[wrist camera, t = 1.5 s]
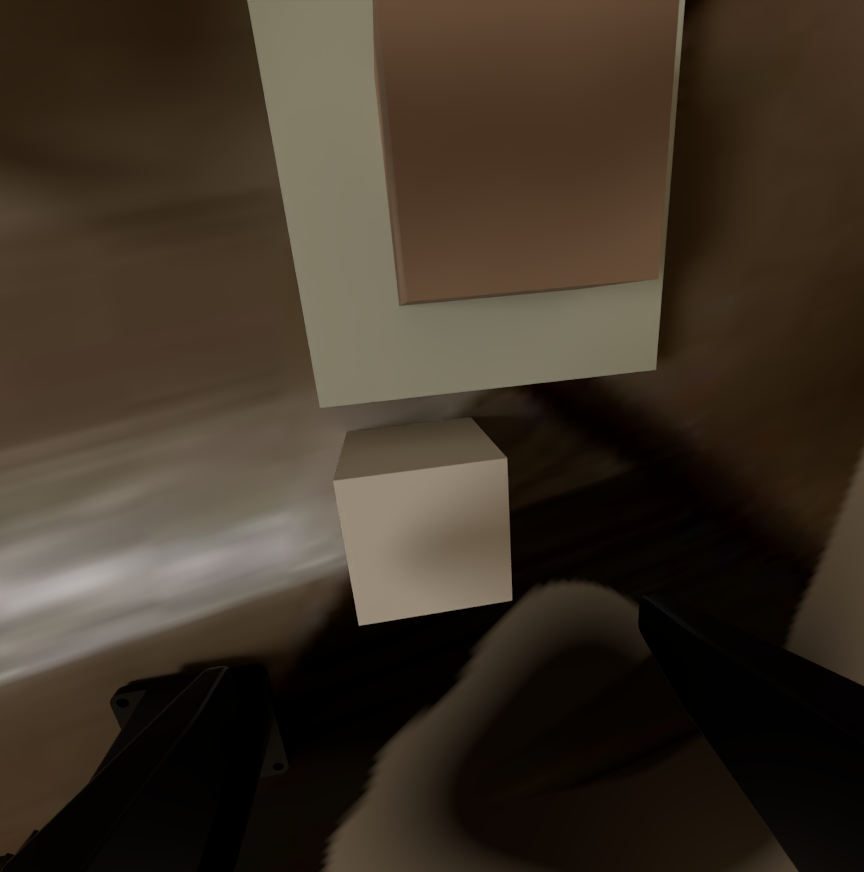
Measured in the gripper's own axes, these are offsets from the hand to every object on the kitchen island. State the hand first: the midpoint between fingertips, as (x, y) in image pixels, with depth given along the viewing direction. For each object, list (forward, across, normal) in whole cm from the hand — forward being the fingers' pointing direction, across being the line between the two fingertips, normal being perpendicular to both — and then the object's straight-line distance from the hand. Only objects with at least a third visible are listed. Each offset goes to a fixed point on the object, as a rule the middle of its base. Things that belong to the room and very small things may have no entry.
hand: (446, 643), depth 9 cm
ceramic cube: (+9, 0, 0) cm, 9 cm away
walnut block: (+6, -3, -10) cm, 12 cm away
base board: (+8, -3, -10) cm, 14 cm away
